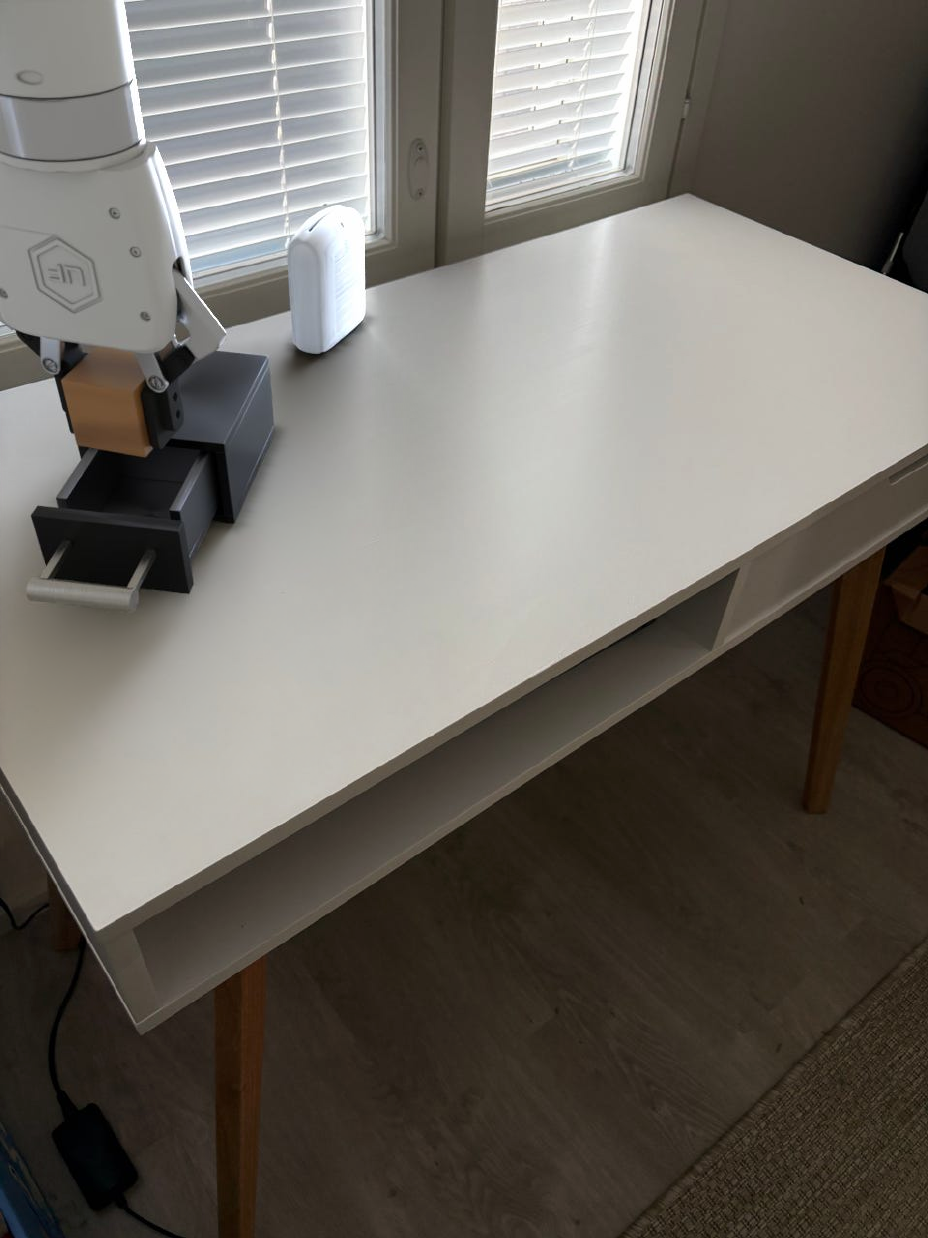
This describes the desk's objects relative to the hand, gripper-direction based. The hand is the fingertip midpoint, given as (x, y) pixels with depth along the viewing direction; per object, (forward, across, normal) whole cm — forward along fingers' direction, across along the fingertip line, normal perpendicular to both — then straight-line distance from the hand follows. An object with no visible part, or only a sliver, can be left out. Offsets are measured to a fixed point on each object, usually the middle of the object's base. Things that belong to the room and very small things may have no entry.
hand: (126, 427), depth 63 cm
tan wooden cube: (0, 0, 0) cm, 0 cm away
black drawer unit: (+15, -6, +17) cm, 24 cm away
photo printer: (+16, -2, +44) cm, 46 cm away
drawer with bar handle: (+15, -4, +4) cm, 16 cm away
